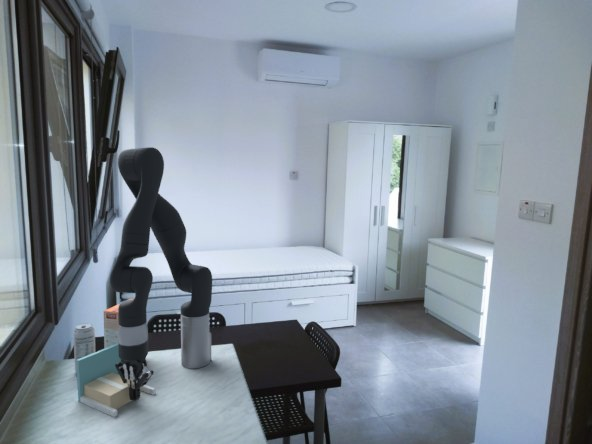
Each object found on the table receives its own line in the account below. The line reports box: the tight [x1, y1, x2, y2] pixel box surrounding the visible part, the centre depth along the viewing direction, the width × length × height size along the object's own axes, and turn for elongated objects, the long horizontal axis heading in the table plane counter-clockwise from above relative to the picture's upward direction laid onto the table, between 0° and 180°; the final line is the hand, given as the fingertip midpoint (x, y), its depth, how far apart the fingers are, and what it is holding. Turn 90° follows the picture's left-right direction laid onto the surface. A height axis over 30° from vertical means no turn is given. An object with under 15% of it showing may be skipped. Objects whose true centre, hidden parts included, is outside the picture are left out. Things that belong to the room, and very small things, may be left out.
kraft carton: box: [84, 372, 133, 410], centre depth 121 cm, size 9×11×5 cm
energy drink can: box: [72, 322, 96, 373], centre depth 136 cm, size 6×6×15 cm
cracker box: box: [103, 298, 132, 349], centre depth 140 cm, size 14×6×21 cm, turn 166°
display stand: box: [76, 343, 156, 418], centre depth 122 cm, size 14×15×12 cm
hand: (134, 399), depth 119 cm, fingers closed
